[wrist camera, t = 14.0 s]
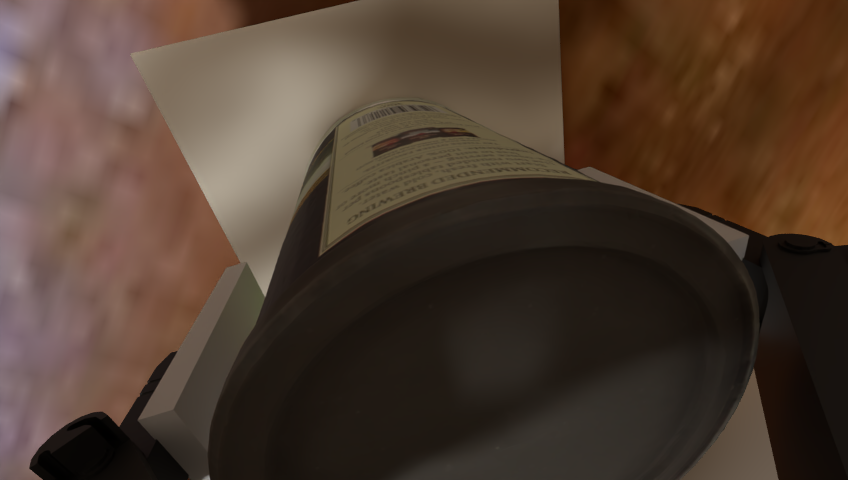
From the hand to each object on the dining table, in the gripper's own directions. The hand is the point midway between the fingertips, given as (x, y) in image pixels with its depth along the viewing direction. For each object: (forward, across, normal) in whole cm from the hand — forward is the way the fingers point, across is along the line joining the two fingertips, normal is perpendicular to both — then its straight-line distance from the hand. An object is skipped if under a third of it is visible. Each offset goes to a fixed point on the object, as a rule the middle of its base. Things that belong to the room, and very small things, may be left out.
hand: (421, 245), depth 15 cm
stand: (+11, 0, 0) cm, 11 cm away
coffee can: (+5, 0, 0) cm, 5 cm away
